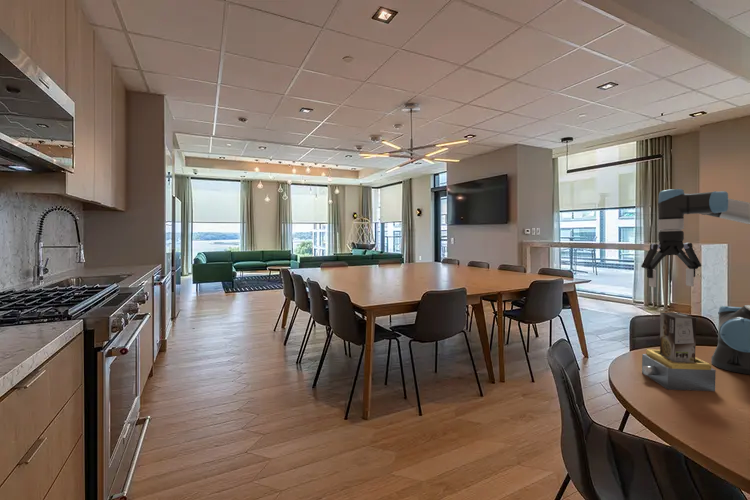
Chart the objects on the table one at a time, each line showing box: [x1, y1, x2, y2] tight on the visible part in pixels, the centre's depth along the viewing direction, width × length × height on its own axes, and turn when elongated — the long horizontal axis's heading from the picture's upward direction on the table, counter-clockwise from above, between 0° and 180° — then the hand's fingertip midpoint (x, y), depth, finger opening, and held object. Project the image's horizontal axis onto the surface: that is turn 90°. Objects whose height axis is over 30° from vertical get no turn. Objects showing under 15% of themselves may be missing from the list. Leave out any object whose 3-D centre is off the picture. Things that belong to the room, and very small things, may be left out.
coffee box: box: [659, 311, 697, 363], centre depth 126 cm, size 9×6×16 cm
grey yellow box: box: [641, 348, 717, 392], centre depth 127 cm, size 17×14×9 cm
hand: (671, 286), depth 140 cm, fingers open, 13 cm apart
